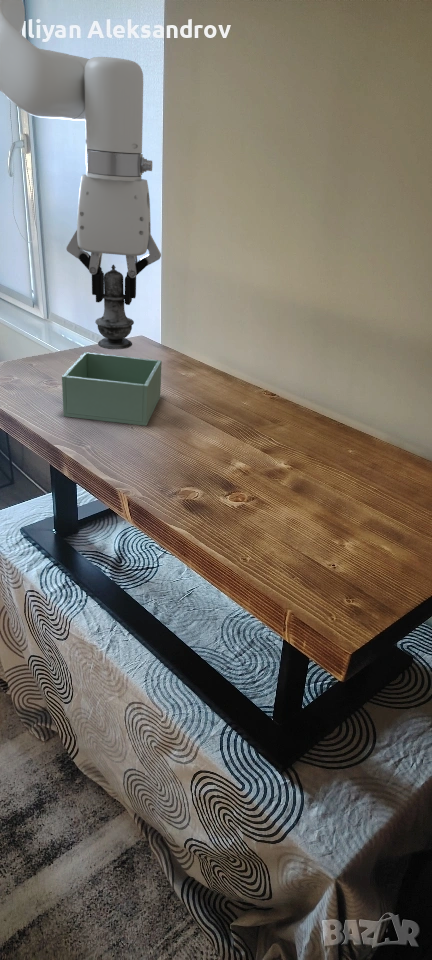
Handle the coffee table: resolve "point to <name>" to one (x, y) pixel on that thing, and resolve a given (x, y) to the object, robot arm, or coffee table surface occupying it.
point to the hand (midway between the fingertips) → (114, 300)
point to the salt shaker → (114, 313)
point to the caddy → (112, 388)
